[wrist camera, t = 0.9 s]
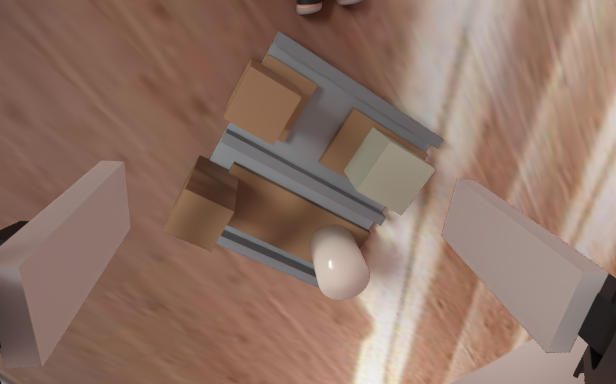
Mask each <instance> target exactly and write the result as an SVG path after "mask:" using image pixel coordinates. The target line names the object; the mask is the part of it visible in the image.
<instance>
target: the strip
mask: <svg viewBox="0 0 616 384" xmlns="http://www.w3.org/2000/svg"><path fill="white" fill-rule="evenodd" d="M330 224H337V225H342V226H344V227H346V228H347V229H349V230H350V232H351V233H352V235H353V237H354V239H355V241H356V243H357V245H358V248H359V249H360V247H361V246H362V245H363V243H364V242H365V241H366V239H367V238H368V236H369V235H370V232H369V230H367V229H365V228H363V227H362V226H360V225H358V224H356V223H354V222H352V221H350V220H348V219H346V218H344V217H342V216H340V215H338V214H336V213H334V212H332V211H330V210H328V209H326V208H324V207H322V206H320V205H319V204H317V203H315V202H313V201H311V200H309V199H307V198H305V197H303V196H301V195H299V194H297V193H295V192H293V191H291V190H289V189H287V188H285V187H283V186H281V185H279V184H278V183H276V182H274V181H272V180H270V179H268V178H266V177H264V176H262V175H260V174H258V173H256V172H254V171H252V170H250V169H248V168H246V167H244V166H242V165H240V164H238V163H236V162H235V161H234V162H233V164H232V166H231V168H230V170H228V169H226V168H224V167H222V166H220V165H218V164H216V163H214V162H212V161H210V160H208V159H206V158H204V157H202V156H199V158H198V160H197V162H196V163H195V165H194V167H193V169H192V171H191V173H190V175H189V177H188V179H187V181H186V182H185V184H184V186H183V188H182V190H181V192H180V194H179V197H178V199H177V201H176V203H175V205H174V207H173V210H172V212H171V214H170V216H169V218H168V221H167V223H166V225H165V227H164V229H163V232H166V233H168V234H170V235H173V236H175V237H177V238H180V239H182V240H185V241H187V242H189V243H192V244H194V245H196V246H199V247H201V248H204V249H206V250H208V251H212V249H213V248H214V246H215V244H216V242H217V241H218V239H219V237H220V236H221V234H222V232H223V231H224V229H225V227H226V225H228V226H230V227H232V228H234V229H237V230H239V231H241V232H243V233H246V234H248V235H250V236H252V237H254V238H257V239H259V240H261V241H263V242H266V243H268V244H270V245H272V246H274V247H277V248H279V249H281V250H283V251H286V252H288V253H290V254H292V255H294V256H297V257H299V258H301V259H303V260H306V261H308V262H310V263H312V264H313V261H312V257H311V253H310V248H309V244H310V240H311V237H312V236H313V234H314V233H315V232H316V231H317V230H318V229H320V228H321V227H323V226H326V225H330Z"/></svg>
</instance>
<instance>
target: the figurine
mask: <svg viewBox="0 0 616 384" xmlns="http://www.w3.org/2000/svg"><path fill="white" fill-rule="evenodd" d="M336 1H337V3H338V4H339V5H349V4H354V3H358V2H361V1H362V0H336ZM322 2H323V0H297V14H299V15H304V14H310V13H314V12H317V11H319V10H320V9H321V8H322Z"/></svg>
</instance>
